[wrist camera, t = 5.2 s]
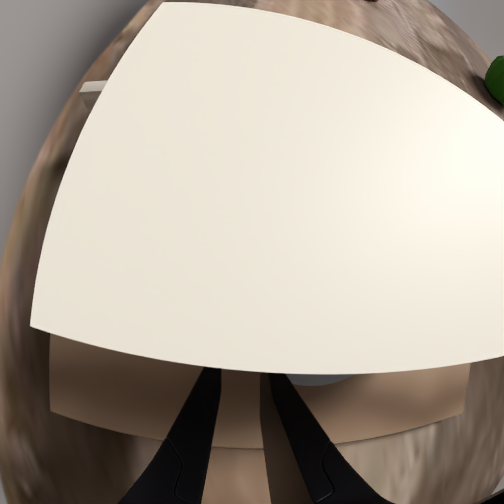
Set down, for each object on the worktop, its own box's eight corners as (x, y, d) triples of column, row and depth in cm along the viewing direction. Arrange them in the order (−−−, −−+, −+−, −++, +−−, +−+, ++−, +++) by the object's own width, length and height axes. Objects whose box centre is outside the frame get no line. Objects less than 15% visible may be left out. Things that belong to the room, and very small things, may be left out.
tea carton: (406, 377, 15) (579, 397, 3) (167, 369, 13) (50, 521, 1) (412, 223, 17) (555, 141, 6) (196, 181, 15) (199, -36, 4)
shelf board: (449, 410, 16) (498, 420, 11) (61, 404, 13) (14, 430, 7) (451, 198, 20) (494, 174, 15) (108, 133, 17) (86, 80, 12)
